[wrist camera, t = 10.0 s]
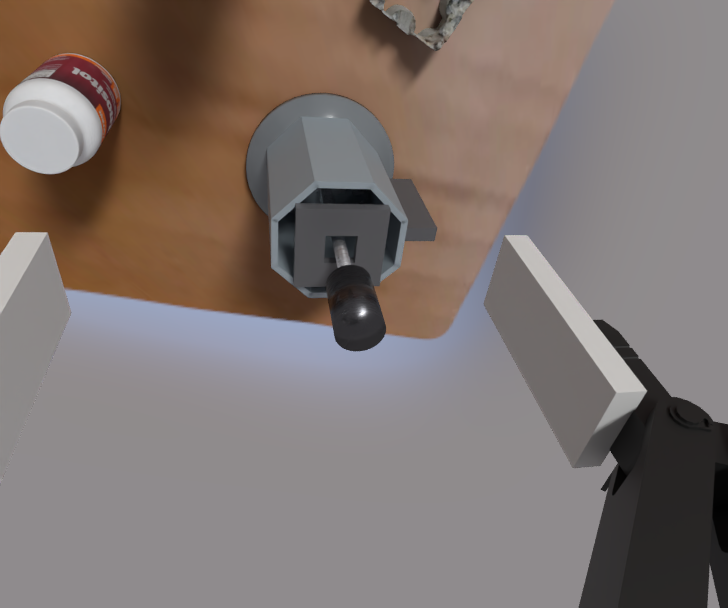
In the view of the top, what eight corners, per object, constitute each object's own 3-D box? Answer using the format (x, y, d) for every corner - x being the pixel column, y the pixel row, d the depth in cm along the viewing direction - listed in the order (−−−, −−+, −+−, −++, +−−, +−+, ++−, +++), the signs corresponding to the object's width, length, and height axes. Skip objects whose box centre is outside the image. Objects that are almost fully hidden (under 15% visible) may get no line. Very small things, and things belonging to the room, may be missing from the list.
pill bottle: (137, 113, 45) (111, 168, 37) (72, 139, 46) (31, 198, 37) (92, 38, 41) (51, 80, 33) (21, 67, 42) (-38, 115, 33)
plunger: (279, 221, 50) (293, 380, 34) (280, 138, 45) (296, 279, 29) (363, 222, 52) (412, 375, 36) (372, 142, 47) (434, 278, 31)
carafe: (267, 218, 52) (271, 304, 42) (266, 114, 46) (271, 185, 36) (396, 219, 55) (431, 301, 44) (412, 121, 49) (457, 189, 38)
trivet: (248, 230, 54) (248, 234, 53) (243, 88, 45) (243, 91, 45) (382, 231, 57) (384, 235, 56) (402, 97, 48) (404, 100, 47)
